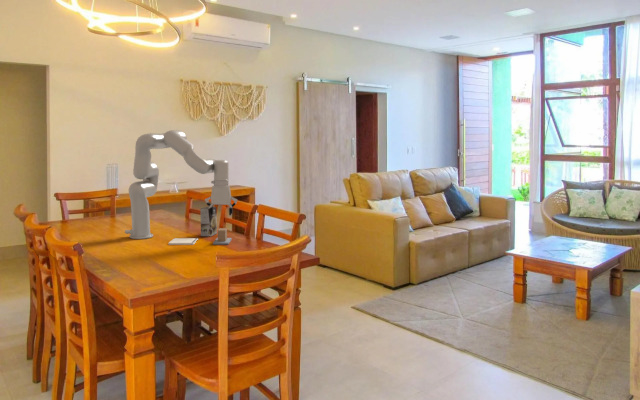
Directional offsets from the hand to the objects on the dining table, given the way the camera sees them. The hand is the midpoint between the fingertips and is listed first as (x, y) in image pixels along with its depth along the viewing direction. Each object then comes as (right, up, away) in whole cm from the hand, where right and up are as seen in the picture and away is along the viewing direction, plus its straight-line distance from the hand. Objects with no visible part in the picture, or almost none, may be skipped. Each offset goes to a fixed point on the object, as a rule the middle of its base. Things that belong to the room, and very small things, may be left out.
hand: (221, 214), depth 265 cm
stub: (0, -15, +2) cm, 15 cm away
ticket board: (-21, -15, +1) cm, 25 cm away
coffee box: (-11, -13, +21) cm, 27 cm away
